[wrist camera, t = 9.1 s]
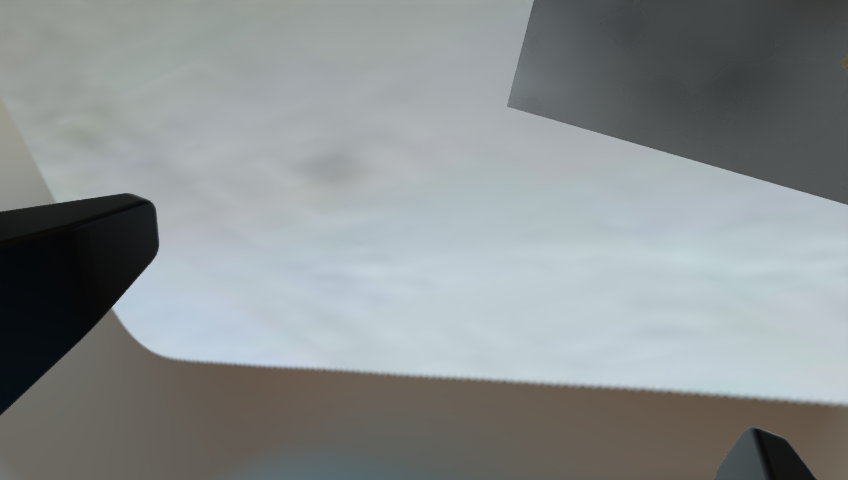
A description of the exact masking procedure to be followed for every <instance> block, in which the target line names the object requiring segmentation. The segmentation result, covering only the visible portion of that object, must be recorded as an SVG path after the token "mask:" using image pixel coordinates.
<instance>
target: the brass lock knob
mask: <svg viewBox="0 0 848 480" xmlns="http://www.w3.org/2000/svg"><path fill="white" fill-rule="evenodd" d="M839 64H840V65H841V66H842V67H843V68H844V69H845V70H846V71H847V72H848V53H847V54H846V55H845V57H844V58H843V59H842V60H841V61H840V62H839Z"/></svg>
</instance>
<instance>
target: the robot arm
mask: <svg viewBox="0 0 848 480" xmlns="http://www.w3.org/2000/svg"><path fill="white" fill-rule="evenodd" d="M158 249H159V236H158V225H157V214H156V208H155V206H154V204H153V203H152V202H151V201H149V200H147V199H145V198H142V197H139V196H137V195H134V194H129V193H124V194H117V195H110V196H103V197H97V198H90V199H83V200H76V201H70V202H63V203H56V204H49V205H43V206H36V207H29V208H22V209H16V210H9V211H2V212H0V415H1V414H3V413H4V412H5V411H6V410H7V409H8V408H9V407H10V406H11V405H12V404H13V403H14V402H15V401H16V400H18V399H19V398H20V397H21V396H22V395H23V394H24V393H25V392H26V391H27V390H28V389H29V388H30V387H31V386H32V385H34V384H35V382H37V381H38V380H39V379H40V378H41V377H42V376H43V375H44V374H45V373H46V372H47V371H48V370H49V369H51V368H52V367H53V366H54V365H55V364H56V363H57V362H58V361H59V360H60V359H61V358H62V357H63V356H64V355H65V354H67V353H68V351H70V350H71V349H72V348H73V347H74V346H75V345H76V344H77V343H78V342H79V341H80V340H81V339H82V338H83V337H84V336H86V334H87V333H88V332H90V331H91V330H92V329H93V328H94V326H95V325H96V324H97V323H98V322H99V321H100V320H101V319H102V318H103V316H104V315H105V314H106V313H107V312H108V311H109V310H110V309H111V308H112V306H113V305H114V304H115V303H116V302H117V301H118V300H119V298H120V297H121V296H122V295H123V294H124V293H125V292H126V290H127V289H128V288H129V287H130V286H131V285H132V284H133V282H134V281H135V280H136V279H137V278H138V277H139V276H140V274H141V273H142V272H143V271H144V270H145V269H146V268H147V266H148V265H149V264H150V263H151V262H152V261H153V259H154V258H155V256H156V255H157V252H158ZM714 480H817V479H816V477H815V476H814V475H813V473H812V472H811V471H810V469H809V468H808V467H807V466H806V464H805V463H804V461H803V460H802V459H801V458H800V456H799V455H798V453H797V452H796V451H795V450H794V448H793V447H792V446H791V445H790V443H789V442H788V441H787V440H786V439H785V438H783V437H781V436H779V435H777V434H774V433H771V432H769V431H766V430H763V429H761V428H758V427H748V428H747V429H746V430H744V431H743V432H742V434H741V435H740V437H739V438H738V439H737V441H736V442H735V444H734V445H733V446H732V448H731V449H730V451H729V452H728V454H727V455H726V456H725V458H724V459H723V461H722V462H721V464H720V465H719V467H718V469H717V472H716V475H715V479H714Z"/></svg>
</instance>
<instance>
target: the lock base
mask: <svg viewBox="0 0 848 480" xmlns="http://www.w3.org/2000/svg"><path fill="white" fill-rule="evenodd" d="M847 53H848V0H534V2H533V6H532V10H531V14H530V18H529V22H528V26H527V30H526V34H525V38H524V42H523V46H522V49H521V53H520V57H519V61H518V65H517V69H516V73H515V77H514V81H513V85H512V89H511V93H510V96H509V100H508V104H507V106H508V107H511V108H515V109H518V110H521V111H525V112H528V113H532V114H535V115H539V116H542V117H546V118H549V119H553V120H556V121H560V122H563V123H566V124H570V125H573V126H577V127H580V128H584V129H587V130H591V131H594V132H598V133H601V134H605V135H608V136H612V137H615V138H618V139H622V140H625V141H629V142H632V143H636V144H639V145H643V146H646V147H650V148H653V149H657V150H660V151H663V152H667V153H670V154H674V155H677V156H681V157H684V158H688V159H691V160H695V161H698V162H702V163H705V164H709V165H712V166H715V167H719V168H722V169H726V170H729V171H733V172H736V173H740V174H743V175H747V176H750V177H754V178H757V179H760V180H764V181H767V182H771V183H774V184H778V185H781V186H785V187H788V188H792V189H795V190H799V191H802V192H805V193H809V194H812V195H816V196H819V197H823V198H826V199H830V200H833V201H837V202H840V203H844V204H847V205H848V72H847V71H846V70H845V69H844V68H843V67H842V66H841V65H840V64H839V62H840V61H841V60H842V59H843V58H844V57H845V55H846V54H847Z"/></svg>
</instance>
